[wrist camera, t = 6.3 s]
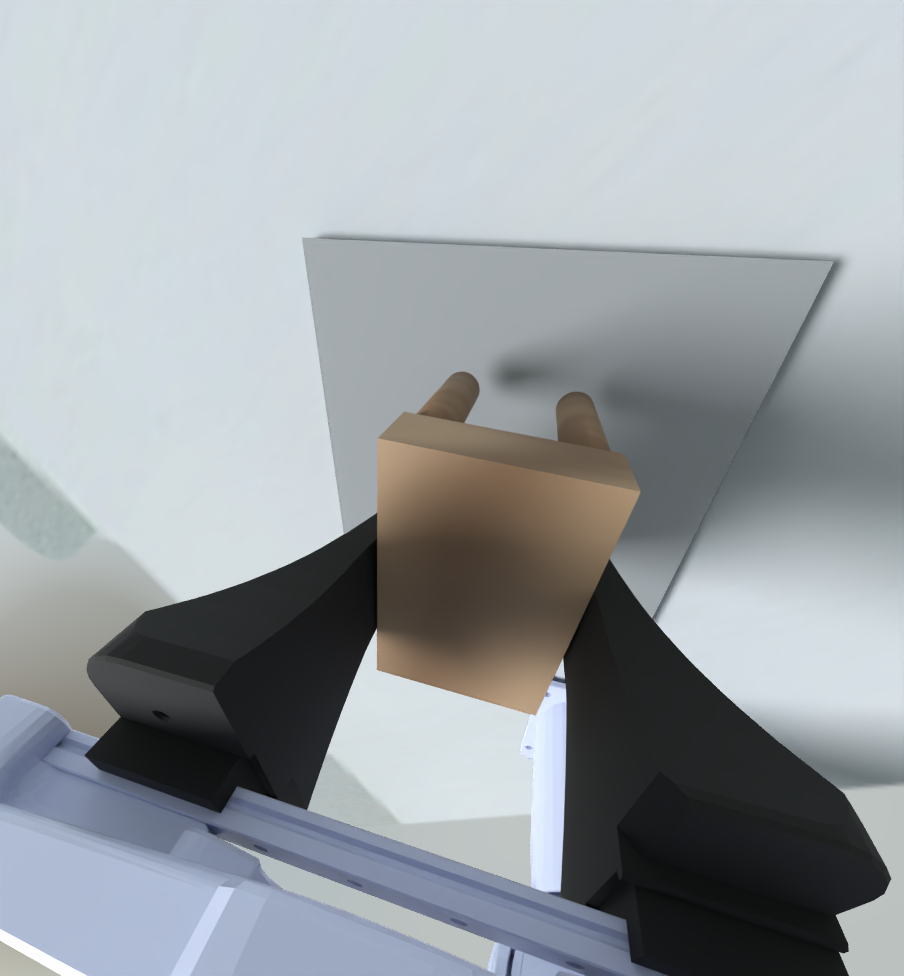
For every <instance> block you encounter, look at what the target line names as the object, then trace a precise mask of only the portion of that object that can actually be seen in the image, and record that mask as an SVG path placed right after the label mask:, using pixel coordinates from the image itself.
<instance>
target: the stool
mask: <svg viewBox="0 0 904 976" xmlns="http://www.w3.org/2000/svg"><path fill="white" fill-rule="evenodd" d="M479 392H480V388H479V383H478V381H477V380H476V378H475V377H474V376H473V375H471V374H470V373H467V372H456V373H454V374H452V375H451V376H450V377H449V378H448V379H447V380H446V381H445V382H444V384H443V385H442V386H441V387H440V388H439V389H438V390H437V391H436V392H435V393H434V395H433V396H432V397H431V398H430V399H429V400H428V401H427V402H426V403H425V405H424V406H423V407H422V408H421V409H420V410H419V411H418V412H417V413H416V414H414V413H409V412H403V413H402V414H401V415H400V416H399V417H398V418H397V419H396V420H395V421H394V422H393V423H392V424H391V425H390V426H389V427H388V428H387V429H386V430H385V431H384V432H383V433H382V434H381V435H380V436H379V437H378V438H377V670H379V671H382V672H386V673H389V674H393V675H396V676H400V677H403V678H407V679H410V680H414V681H417V682H421V683H424V684H427V685H431V686H434V687H438V688H441V689H445V690H448V691H452V692H455V693H459V694H462V695H466V696H469V697H472V698H476V699H479V700H483V701H486V702H490V703H493V704H497V705H500V706H504V707H507V708H511V709H514V710H517V711H521V712H524V713H528V714H531V715H535V716H536V714H537V712H538V710H539V708H540V706H541V703H542V701H543V699H544V697H545V695H546V693H547V691H548V689H549V686H550V684H551V682H552V680H553V678H554V676H555V674H556V671H557V669H558V667H559V665H560V663H561V661H562V659H563V657H564V654H565V652H566V650H567V648H568V646H569V644H570V642H571V640H572V637H573V635H574V633H575V631H576V629H577V627H578V625H579V622H580V620H581V618H582V616H583V614H584V612H585V610H586V608H587V605H588V603H589V601H590V599H591V597H592V595H593V593H594V591H595V588H596V586H597V584H598V582H599V580H600V578H601V576H602V573H603V571H604V569H605V567H606V565H607V563H608V561H609V559H610V556H611V554H612V552H613V550H614V548H615V546H616V544H617V542H618V539H619V537H620V535H621V533H622V531H623V529H624V527H625V524H626V522H627V520H628V518H629V516H630V514H631V512H632V510H633V507H634V505H635V503H636V501H637V499H638V497H639V495H640V493H641V491H640V489H639V486H638V484H637V482H636V479H635V477H634V475H633V472H632V470H631V468H630V465H629V463H628V461H627V458H626V456H625V454H623V453H617V452H612V451H611V450H610V447H609V445H608V442H607V439H606V436H605V433H604V431H603V428H602V425H601V422H600V420H599V417H598V414H597V411H596V408H595V406H594V403H593V401H592V399H591V397H590V396H588V395H587V394H585V393H583V392H570V393H568V394H566V395H564V396H563V397H562V398H561V399H560V400H559V402H558V403H557V406H556V422H557V436H558V441H555V440H550V439H544V438H539V437H534V436H529V435H524V434H518V433H513V432H508V431H503V430H497V429H492V428H487V427H482V426H477V425H471V424H466V423H465V421H466V419H467V417H468V415H469V413H470V411H471V409H472V408H473V406H474V404H475V402H476V400H477V398H478V396H479Z"/></svg>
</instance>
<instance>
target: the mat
mask: <svg viewBox="0 0 904 976" xmlns="http://www.w3.org/2000/svg"><path fill="white" fill-rule="evenodd" d="M302 240H303V247H304V254H305V262H306V269H307V276H308V283H309V290H310V297H311V304H312V311H313V318H314V325H315V332H316V339H317V346H318V353H319V360H320V368H321V375H322V382H323V389H324V396H325V403H326V410H327V417H328V424H329V431H330V438H331V445H332V452H333V459H334V467H335V474H336V481H337V488H338V495H339V502H340V509H341V516H342V523H343V530H344V534H346V533H347V532H349V531H350V530H352V529H353V528H355V527H356V526H358V525H359V524H361V523H363V522H364V521H366V520H367V519H369V518H370V517H371V516H373V515H374V514H376V513H377V438H378V437H379V436H380V435H381V434H382V433H383V432H384V431H385V430H386V429H387V428H388V427H389V426H390V425H391V424H392V423H393V422H394V421H395V420H396V419H397V418H398V417H399V416H400V415H401V414H402V413H403V412H409V413H414V414H416V413H417V412H418V411H419V410H420V409H421V408H422V407H423V406H424V405H425V403H426V402H427V401H428V400H429V399H430V398H431V397H432V396H433V395H434V393H435V392H436V391H437V390H438V389H439V388H440V387H441V386H442V385H443V384H444V382H445V381H446V380H447V379H448V378H449V377H450V376H451V375H452V374H454V373H456V372H467V373H470V374H471V375H473V376H474V377H475V378H476V380H477V381H478V383H479V388H480V392H479V396H478V398H477V400H476V402H475V404H474V406H473V408H472V409H471V411H470V413H469V415H468V417H467V419H466V421H465V423H466V424H471V425H477V426H482V427H487V428H492V429H497V430H503V431H508V432H513V433H518V434H524V435H529V436H534V437H539V438H544V439H550V440H555V441H558V436H557V422H556V406H557V403H558V402H559V400H560V399H561V398H562V397H563V396H564V395H566V394H568V393H570V392H583V393H585V394H587V395H588V396H590V397H591V399H592V401H593V403H594V406H595V408H596V411H597V414H598V417H599V420H600V422H601V425H602V428H603V431H604V433H605V436H606V439H607V442H608V445H609V447H610V450H611V451H612V452H617V453H623V454H625V456H626V458H627V461H628V463H629V465H630V468H631V470H632V472H633V475H634V477H635V479H636V482H637V484H638V486H639V489H640V491H641V493H640V495H639V497H638V499H637V501H636V503H635V505H634V507H633V510H632V512H631V514H630V516H629V518H628V520H627V522H626V524H625V527H624V529H623V531H622V533H621V535H620V537H619V539H618V542H617V544H616V546H615V548H614V550H613V552H612V554H611V556H610V560H611V561H612V563H613V565H614V566H615V568H616V569H617V571H618V572H619V574H620V575H621V577H622V578H623V580H624V581H625V583H626V584H627V586H628V587H629V588H630V590H631V591H632V593H633V594H634V596H635V597H636V598H637V600H638V601H639V602H640V604H641V605H642V606H643V608H644V609H645V610H646V612H647V613H648V614H649V615H650V617H651V618H653V616H654V614H655V612H656V610H657V608H658V606H659V604H660V602H661V600H662V598H663V596H664V594H665V592H666V590H667V588H668V586H669V584H670V582H671V580H672V578H673V576H674V574H675V572H676V571H677V569H678V567H679V565H680V563H681V561H682V559H683V557H684V555H685V553H686V551H687V549H688V547H689V545H690V543H691V541H692V539H693V537H694V535H695V533H696V531H697V529H698V527H699V525H700V523H701V521H702V520H703V518H704V516H705V514H706V512H707V510H708V508H709V506H710V504H711V502H712V500H713V498H714V496H715V494H716V492H717V490H718V488H719V486H720V484H721V482H722V480H723V478H724V476H725V474H726V472H727V471H728V469H729V467H730V465H731V463H732V461H733V459H734V457H735V455H736V453H737V451H738V449H739V447H740V445H741V443H742V441H743V439H744V437H745V435H746V433H747V431H748V429H749V427H750V425H751V423H752V421H753V420H754V418H755V416H756V414H757V412H758V410H759V408H760V406H761V404H762V402H763V400H764V398H765V396H766V394H767V392H768V390H769V388H770V386H771V384H772V382H773V380H774V378H775V376H776V374H777V372H778V371H779V369H780V367H781V365H782V363H783V361H784V359H785V357H786V355H787V353H788V351H789V349H790V347H791V345H792V343H793V341H794V339H795V337H796V335H797V333H798V331H799V329H800V327H801V325H802V323H803V322H804V320H805V318H806V316H807V314H808V312H809V310H810V308H811V306H812V304H813V302H814V300H815V298H816V296H817V294H818V292H819V290H820V288H821V286H822V284H823V282H824V280H825V278H826V276H827V274H828V272H829V271H830V269H831V267H832V265H833V263H834V261H814V260H792V259H769V258H747V257H724V256H701V255H679V254H656V253H634V252H611V251H589V250H566V249H544V248H521V247H499V246H476V245H453V244H431V243H408V242H386V241H363V240H341V239H318V238H302Z"/></svg>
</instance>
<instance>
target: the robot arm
mask: <svg viewBox="0 0 904 976" xmlns="http://www.w3.org/2000/svg"><path fill="white" fill-rule="evenodd" d="M376 629H377V513H376V514H374V515H373V516H371V517H370V518H369V519H367V520H366V521H364V522H363V523H361V524H359V525H358V526H356V527H355V528H353V529H352V530H350V531H349V532H347V533H346V534H344V535H342V536H341V537H339V538H337V539H335V540H334V541H332V542H330V543H329V544H327V545H325V546H324V547H322V548H320V549H318V550H317V551H315V552H313V553H311V554H309V555H307V556H305V557H303V558H301V559H299V560H297V561H295V562H293V563H291V564H288V565H286V566H284V567H282V568H279V569H277V570H274V571H272V572H270V573H267V574H265V575H262V576H260V577H257V578H255V579H252V580H250V581H247V582H245V583H242V584H239V585H236V586H233V587H230V588H227V589H224V590H221V591H218V592H215V593H212V594H209V595H205V596H202V597H199V598H195V599H192V600H188V601H184V602H180V603H176V604H173V605H169V606H165V607H162V608H158V609H154V610H150V611H146V612H144V613H143V614H142V615H141V616H140V617H138V618H137V619H136V620H135V621H134V622H133V623H131V624H130V625H129V626H128V627H126V628H125V629H124V630H123V631H122V632H121V633H119V634H118V635H117V636H116V637H115V638H114V639H112V640H111V641H110V642H109V643H108V644H106V645H105V646H104V647H103V648H102V649H100V650H99V651H98V652H97V653H96V654H95V655H93V656H92V657H91V658H90V659H89V661H88V664H87V673H88V676H89V678H90V680H91V681H92V683H93V684H94V686H95V687H96V688H97V689H98V690H99V691H100V693H101V694H102V695H103V696H104V698H105V699H106V700H107V701H108V702H109V703H110V705H111V706H112V707H113V708H114V709H115V711H116V712H117V713H118V714H119V715H120V716H121V717H120V718H119V720H118V721H117V722H116V723H115V724H114V725H113V726H112V727H111V728H110V729H109V730H108V731H107V732H106V733H105V734H104V735H103V736H102V737H101V738H100V739H98V738H96V737H93V736H90V735H87V734H84V733H81V732H78V731H75V730H73V729H71V726H70V724H69V723H68V722H67V721H66V720H65V719H64V718H63V717H62V716H61V715H60V714H58V713H57V712H55V711H54V710H52V709H50V708H48V707H46V706H43V705H40V704H37V703H34V702H31V701H28V700H25V699H23V698H19V697H16V696H14V695H4V696H2V697H1V698H0V940H1V941H2V942H4V943H6V944H8V945H9V946H11V947H13V948H15V949H17V950H18V951H20V952H22V953H23V954H25V955H27V956H29V957H31V958H32V959H34V960H36V961H38V962H39V963H41V964H43V965H45V966H47V967H48V968H50V969H52V970H54V971H56V972H57V973H59V974H61V975H62V976H849V975H848V973H847V970H846V968H845V966H844V963H843V961H842V959H841V956H840V954H839V952H841V953H845V952H848V951H849V950H848V942H847V940H846V938H845V936H844V933H843V931H842V929H841V926H840V924H839V922H838V920H837V917H836V915H837V914H839V913H842V912H845V911H847V910H850V909H853V908H855V907H858V906H860V905H863V904H866V903H868V902H871V901H873V900H875V899H877V898H878V897H880V896H881V895H883V894H884V893H885V891H886V889H887V887H888V884H889V882H890V880H891V877H890V875H889V872H888V870H887V867H886V866H885V864H884V862H883V860H882V858H881V856H880V855H879V853H878V851H877V849H876V847H875V846H874V844H873V842H872V840H871V838H870V837H869V835H868V833H867V831H866V829H865V828H864V826H863V824H862V822H861V821H860V819H859V817H858V816H857V814H856V812H855V811H854V809H853V807H852V805H851V804H850V802H849V801H848V800H847V798H846V796H845V794H844V793H843V792H841V791H840V790H839V789H838V788H836V787H835V786H834V785H833V784H831V783H830V782H829V781H827V780H826V779H825V778H824V777H822V776H821V775H820V774H819V773H817V772H816V771H815V770H813V769H812V768H811V767H810V766H808V765H807V764H806V763H805V762H803V761H802V760H801V759H799V758H798V757H797V756H796V755H794V754H793V753H792V752H791V751H789V750H788V749H787V748H786V747H784V746H783V745H782V744H780V743H779V742H778V741H777V740H776V739H774V738H773V737H772V736H771V735H770V734H769V733H767V732H766V731H765V730H764V729H763V728H762V727H760V726H759V725H758V724H757V723H756V722H755V721H753V720H752V719H751V718H750V717H749V716H748V715H746V714H745V713H744V712H743V711H742V710H741V709H740V708H738V707H737V706H736V705H735V704H734V703H733V702H732V701H731V700H730V699H729V698H727V697H726V696H725V695H724V694H723V693H722V692H721V691H720V690H719V689H718V688H717V687H716V686H715V685H714V684H713V683H712V682H711V681H710V680H709V679H708V678H706V677H705V676H704V675H703V674H702V673H701V672H700V671H699V670H698V669H697V668H696V667H695V666H694V665H693V664H692V663H691V662H690V661H689V660H688V659H687V658H686V657H685V655H684V654H683V653H682V652H681V651H680V650H679V649H678V648H677V647H676V646H675V645H674V643H673V642H672V641H671V640H670V639H669V638H668V637H667V636H666V635H665V633H664V632H663V631H662V630H661V629H660V628H659V626H658V625H657V624H656V623H655V622H654V621H653V619H652V618H651V617H650V615H649V614H648V613H647V612H646V610H645V609H644V608H643V606H642V605H641V604H640V602H639V601H638V600H637V598H636V597H635V596H634V594H633V593H632V591H631V590H630V588H629V587H628V586H627V584H626V583H625V581H624V580H623V578H622V577H621V575H620V574H619V572H618V571H617V569H616V568H615V566H614V565H613V563H612V561H611V560H610V559H609V561H608V563H607V565H606V567H605V569H604V571H603V573H602V576H601V578H600V580H599V582H598V584H597V586H596V588H595V591H594V593H593V595H592V597H591V599H590V601H589V603H588V605H587V608H586V610H585V612H584V614H583V616H582V618H581V620H580V622H579V625H578V627H577V629H576V631H575V633H574V635H573V637H572V640H571V642H570V644H569V646H568V648H567V650H566V652H565V654H564V657H563V661H564V672H565V683H566V684H565V683H561V682H557V681H553V680H552V682H551V684H550V686H549V689H548V691H547V693H546V695H545V697H544V699H543V701H542V703H541V706H540V708H539V710H538V712H537V714H536V716H535V715H531V714H530V718H529V721H528V724H527V727H526V731H525V734H524V737H523V740H522V744H521V747H520V753H521V754H522V755H523V756H525V757H528V758H531V759H534V763H533V791H532V819H531V848H530V860H531V887H528V886H526V885H523V884H520V883H517V882H514V881H511V880H508V879H505V878H502V877H500V876H497V875H493V874H491V873H488V872H485V871H482V870H479V869H476V868H473V867H470V866H468V865H465V864H462V863H459V862H456V861H453V860H450V859H447V858H444V857H441V856H439V855H436V854H433V853H430V852H427V851H424V850H421V849H418V848H415V847H412V846H409V845H406V844H404V843H401V842H398V841H395V840H392V839H389V838H386V837H383V836H380V835H378V834H375V833H372V832H369V831H366V830H363V829H360V828H357V827H354V826H351V825H349V824H345V823H343V822H340V821H337V820H334V819H331V818H328V817H325V816H322V815H319V814H317V813H314V812H310V811H308V810H307V809H308V806H309V803H310V800H311V797H312V793H313V791H314V788H315V785H316V782H317V779H318V776H319V773H320V770H321V767H322V764H323V761H324V758H325V755H326V753H327V750H328V747H329V744H330V742H331V739H332V736H333V733H334V731H335V728H336V725H337V722H338V720H339V717H340V714H341V711H342V709H343V706H344V704H345V701H346V699H347V696H348V693H349V691H350V688H351V686H352V683H353V680H354V678H355V676H356V673H357V671H358V668H359V666H360V663H361V661H362V658H363V656H364V653H365V651H366V649H367V647H368V645H369V643H370V640H371V638H372V636H373V634H374V633H375V631H376ZM220 838H221V839H220ZM222 839H223V840H222ZM224 840H226V841H229V842H232V843H234V844H237V845H239V846H242V847H245V848H247V849H250V850H253V851H255V852H258V853H261V854H263V855H266V856H269V857H271V858H274V859H277V860H279V861H282V862H284V863H287V864H290V865H293V866H295V867H298V868H300V869H303V870H306V871H308V872H311V873H314V874H317V875H319V876H322V877H325V878H327V879H330V880H332V881H335V882H338V883H341V884H343V885H346V886H348V887H351V888H354V889H356V890H359V891H362V892H364V893H367V894H370V895H372V896H375V897H378V898H380V899H383V900H386V901H388V902H391V903H393V904H396V905H399V906H402V907H404V908H407V909H410V910H412V911H415V912H417V913H420V914H423V915H426V916H428V917H431V918H433V919H436V920H439V921H441V922H444V923H447V924H449V925H452V926H455V927H457V928H460V929H463V930H465V931H468V932H471V933H473V934H476V935H479V936H481V937H484V938H487V939H490V940H492V941H495V944H494V947H493V950H492V953H491V956H490V960H489V965H488V969H487V970H486V969H483V968H481V967H479V966H477V965H474V964H472V963H470V962H468V961H465V960H464V959H461V958H459V957H456V956H455V955H452V954H450V953H448V952H445V951H443V950H441V949H439V948H436V947H434V946H431V945H429V944H427V943H424V942H422V941H419V940H417V939H414V938H412V937H410V936H407V935H405V934H403V933H400V932H398V931H395V930H393V929H390V928H387V927H385V926H382V925H380V924H377V923H375V922H372V921H370V920H367V919H365V918H362V917H359V916H357V915H354V914H352V913H349V912H346V911H343V910H341V909H338V908H335V907H332V906H330V905H327V904H324V903H321V902H318V901H316V900H313V899H310V898H307V897H304V896H301V895H298V894H295V893H292V892H289V891H286V890H283V889H282V888H281V887H280V886H278V885H277V884H276V883H275V882H273V881H272V880H271V879H270V878H269V877H268V876H267V875H266V874H265V872H264V871H263V870H262V869H261V866H260V861H259V859H258V858H256V857H254V856H252V855H250V854H248V853H246V852H245V851H243V850H241V849H238V848H237V847H235V846H233V845H231V844H229V843H228V842H226V841H224Z"/></svg>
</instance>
